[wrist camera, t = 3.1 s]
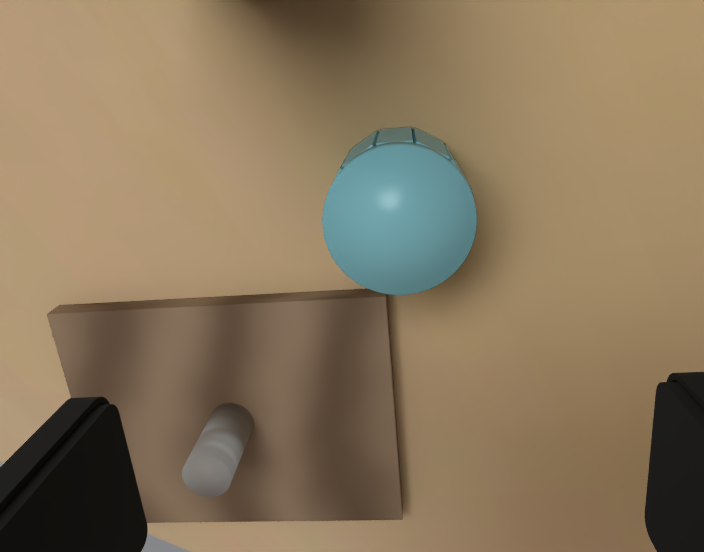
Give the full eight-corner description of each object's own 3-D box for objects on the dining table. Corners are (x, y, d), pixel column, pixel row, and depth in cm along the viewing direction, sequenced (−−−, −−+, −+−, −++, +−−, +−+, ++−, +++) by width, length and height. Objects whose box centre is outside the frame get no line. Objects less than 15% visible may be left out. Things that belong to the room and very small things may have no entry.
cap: (460, 122, 27) (475, 139, 21) (463, 246, 29) (478, 290, 24) (332, 133, 28) (314, 152, 22) (344, 253, 30) (330, 298, 24)
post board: (386, 287, 30) (382, 338, 25) (402, 504, 35) (402, 586, 30) (59, 305, 32) (-11, 355, 27) (116, 508, 37) (67, 586, 32)
